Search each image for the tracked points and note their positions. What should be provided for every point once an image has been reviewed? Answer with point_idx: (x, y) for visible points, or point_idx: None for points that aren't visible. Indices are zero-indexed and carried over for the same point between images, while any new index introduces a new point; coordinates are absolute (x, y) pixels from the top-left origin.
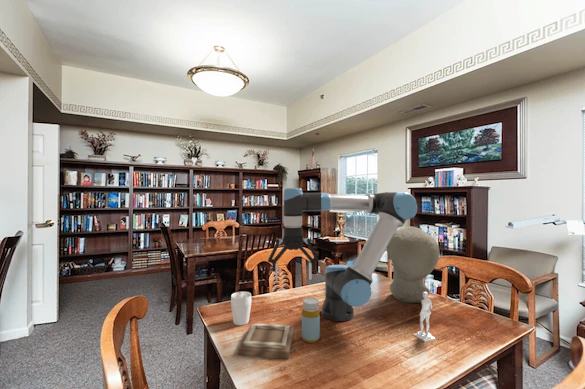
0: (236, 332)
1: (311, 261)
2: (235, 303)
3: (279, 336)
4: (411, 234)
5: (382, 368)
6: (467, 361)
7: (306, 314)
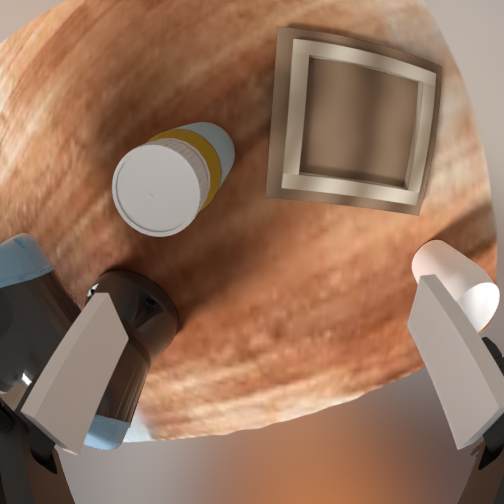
0: (446, 197)
1: (13, 430)
2: (485, 272)
3: (319, 122)
4: None
5: (42, 53)
6: None
7: (193, 137)
